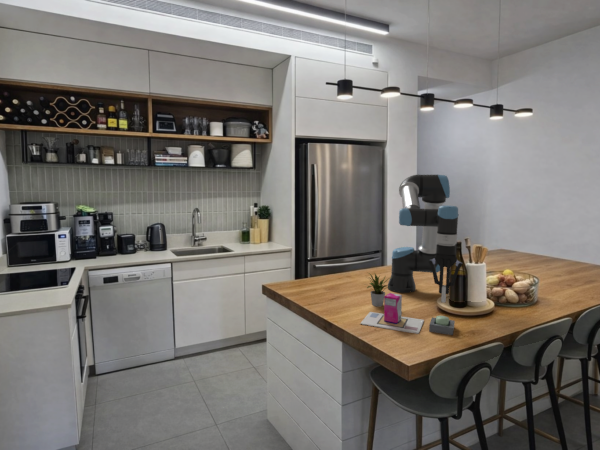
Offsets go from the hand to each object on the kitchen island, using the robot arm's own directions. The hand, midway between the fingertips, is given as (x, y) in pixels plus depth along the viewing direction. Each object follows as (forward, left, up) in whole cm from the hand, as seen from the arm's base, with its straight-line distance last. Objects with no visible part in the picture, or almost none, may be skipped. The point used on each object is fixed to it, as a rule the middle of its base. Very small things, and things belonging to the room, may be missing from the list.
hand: (443, 301), depth 163 cm
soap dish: (0, 0, -12) cm, 12 cm away
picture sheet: (+1, -20, -12) cm, 23 cm away
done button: (0, 0, -12) cm, 12 cm away
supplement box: (+1, -20, -12) cm, 23 cm away
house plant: (-20, -33, -12) cm, 41 cm away
